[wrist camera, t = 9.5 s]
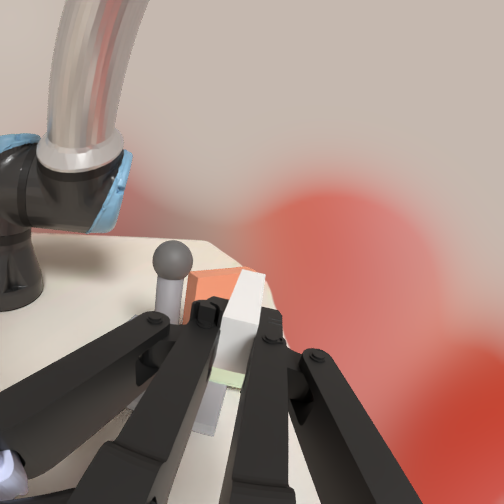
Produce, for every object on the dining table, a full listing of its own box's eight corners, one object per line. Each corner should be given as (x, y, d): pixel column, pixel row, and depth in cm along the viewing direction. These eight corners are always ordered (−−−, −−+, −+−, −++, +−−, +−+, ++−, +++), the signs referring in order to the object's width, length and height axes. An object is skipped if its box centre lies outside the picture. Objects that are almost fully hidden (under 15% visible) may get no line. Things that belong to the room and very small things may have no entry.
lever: (157, 372, 23) (166, 247, 20) (141, 351, 25) (148, 235, 23) (246, 343, 32) (269, 245, 29) (227, 329, 34) (246, 236, 32)
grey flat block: (76, 383, 19) (73, 370, 19) (135, 324, 33) (135, 313, 33) (248, 443, 19) (252, 433, 18) (259, 358, 32) (262, 347, 32)
